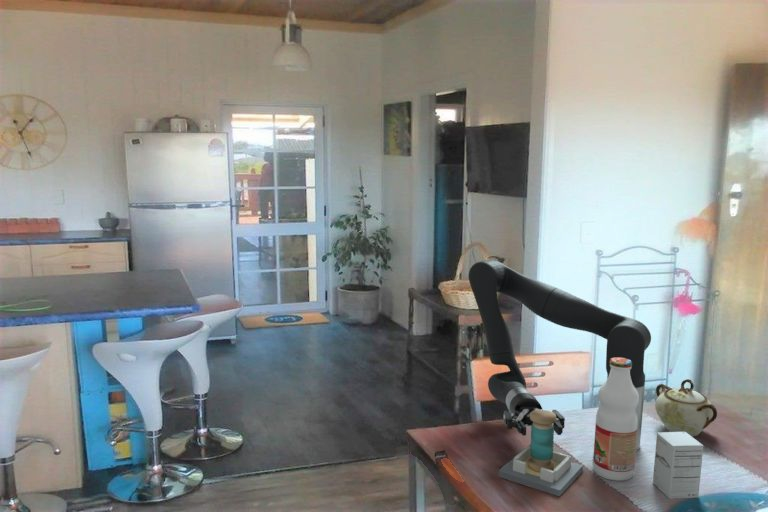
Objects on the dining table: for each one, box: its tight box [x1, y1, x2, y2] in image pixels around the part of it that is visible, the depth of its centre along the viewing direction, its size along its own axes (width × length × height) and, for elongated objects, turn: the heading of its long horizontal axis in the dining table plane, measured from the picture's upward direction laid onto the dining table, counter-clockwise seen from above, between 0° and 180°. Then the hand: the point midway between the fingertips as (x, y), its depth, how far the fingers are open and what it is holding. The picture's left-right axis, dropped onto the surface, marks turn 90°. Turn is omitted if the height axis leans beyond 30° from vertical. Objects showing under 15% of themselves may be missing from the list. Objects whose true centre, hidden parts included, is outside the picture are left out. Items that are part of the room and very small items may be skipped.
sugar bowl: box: [654, 379, 718, 437], centre depth 180 cm, size 20×15×15 cm
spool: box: [528, 409, 556, 472], centre depth 153 cm, size 6×6×13 cm
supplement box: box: [652, 431, 704, 499], centre depth 147 cm, size 7×7×13 cm
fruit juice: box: [592, 357, 639, 482], centre depth 154 cm, size 9×9×28 cm
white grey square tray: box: [497, 444, 584, 497], centre depth 154 cm, size 15×15×4 cm
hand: (542, 431), depth 154 cm, fingers open, 8 cm apart
